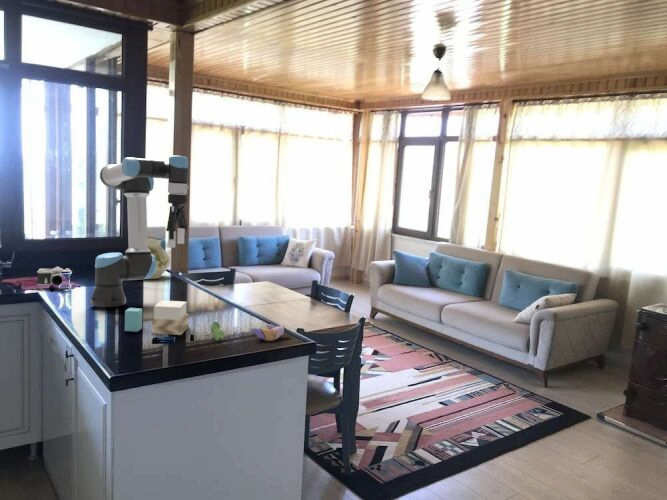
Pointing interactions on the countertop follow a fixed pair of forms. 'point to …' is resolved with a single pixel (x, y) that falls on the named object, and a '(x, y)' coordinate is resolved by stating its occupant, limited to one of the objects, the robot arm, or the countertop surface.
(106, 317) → the countertop surface
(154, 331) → the tower bottom
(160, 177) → the robot arm
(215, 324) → the seedling
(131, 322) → the teal block
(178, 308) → the tower top
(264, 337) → the toy
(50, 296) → the countertop surface
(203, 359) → the countertop surface
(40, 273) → the camera
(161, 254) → the pitcher
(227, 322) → the countertop surface
